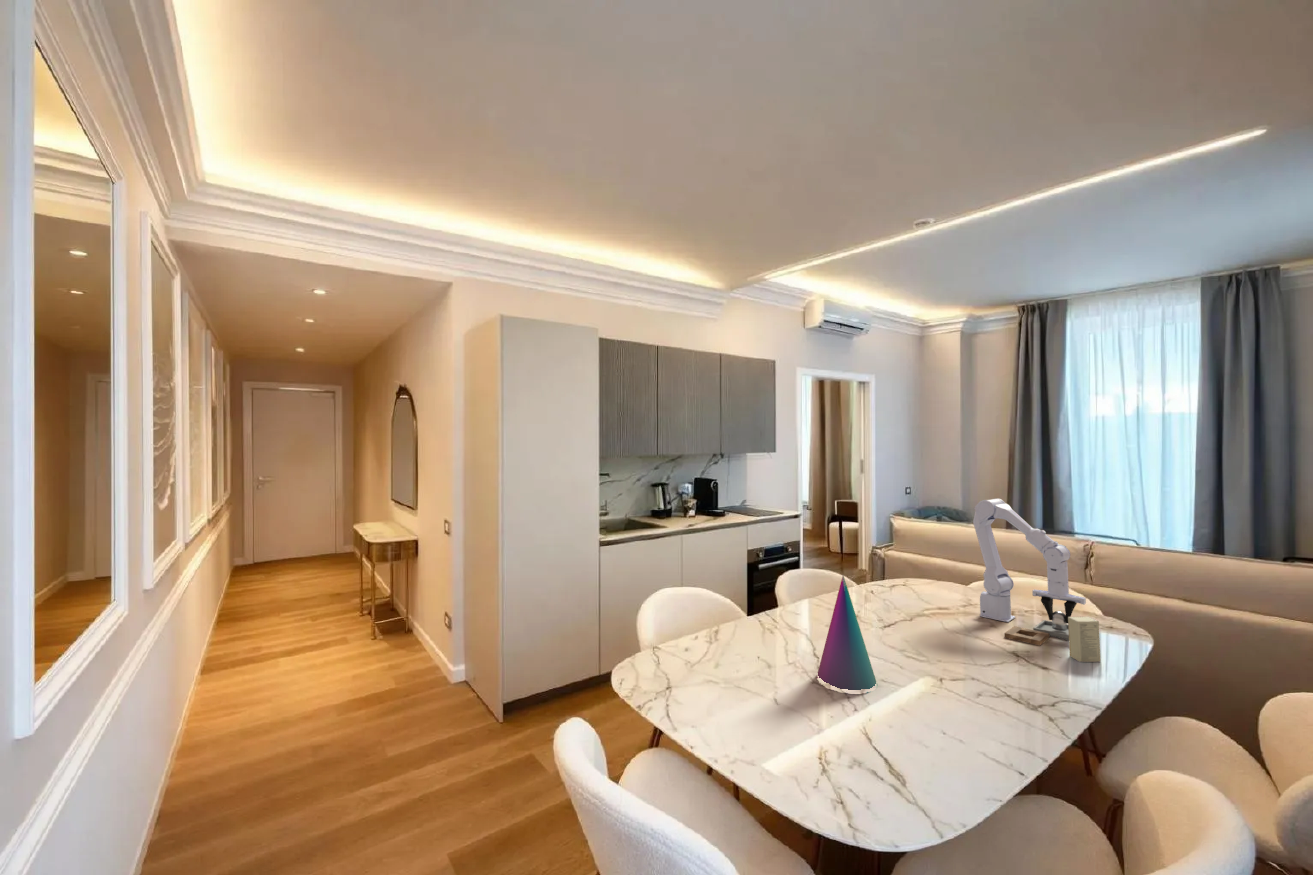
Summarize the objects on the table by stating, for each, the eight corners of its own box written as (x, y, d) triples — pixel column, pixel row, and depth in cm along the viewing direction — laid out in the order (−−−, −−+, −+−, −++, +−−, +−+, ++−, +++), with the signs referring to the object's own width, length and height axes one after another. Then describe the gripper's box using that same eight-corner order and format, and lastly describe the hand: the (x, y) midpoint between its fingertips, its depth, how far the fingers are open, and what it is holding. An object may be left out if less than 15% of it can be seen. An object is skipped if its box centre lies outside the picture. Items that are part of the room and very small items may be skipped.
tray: (1033, 632, 181) (1033, 627, 181) (1043, 624, 189) (1043, 619, 189) (1077, 641, 172) (1076, 636, 172) (1086, 632, 180) (1086, 628, 180)
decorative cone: (873, 671, 154) (870, 568, 154) (881, 697, 138) (877, 582, 139) (815, 666, 158) (812, 566, 159) (817, 691, 143) (813, 579, 143)
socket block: (1004, 637, 178) (1004, 632, 178) (1014, 630, 184) (1014, 625, 184) (1040, 645, 170) (1039, 640, 170) (1049, 637, 176) (1049, 633, 176)
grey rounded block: (1050, 628, 181) (1049, 610, 181) (1054, 625, 183) (1053, 608, 183) (1064, 631, 178) (1064, 613, 178) (1068, 629, 180) (1068, 611, 180)
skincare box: (1090, 656, 161) (1089, 616, 161) (1101, 662, 156) (1099, 621, 156) (1068, 656, 161) (1067, 616, 161) (1078, 662, 157) (1077, 620, 157)
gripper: (1029, 579, 184) (1030, 618, 184) (1081, 587, 173) (1083, 628, 173) (1035, 575, 188) (1036, 614, 188) (1086, 583, 177) (1088, 623, 177)
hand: (1059, 620), depth 181 cm, fingers closed on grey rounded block, 4 cm apart
